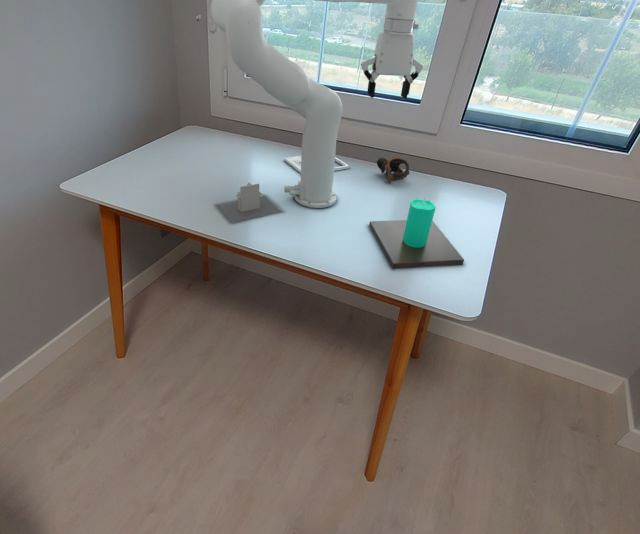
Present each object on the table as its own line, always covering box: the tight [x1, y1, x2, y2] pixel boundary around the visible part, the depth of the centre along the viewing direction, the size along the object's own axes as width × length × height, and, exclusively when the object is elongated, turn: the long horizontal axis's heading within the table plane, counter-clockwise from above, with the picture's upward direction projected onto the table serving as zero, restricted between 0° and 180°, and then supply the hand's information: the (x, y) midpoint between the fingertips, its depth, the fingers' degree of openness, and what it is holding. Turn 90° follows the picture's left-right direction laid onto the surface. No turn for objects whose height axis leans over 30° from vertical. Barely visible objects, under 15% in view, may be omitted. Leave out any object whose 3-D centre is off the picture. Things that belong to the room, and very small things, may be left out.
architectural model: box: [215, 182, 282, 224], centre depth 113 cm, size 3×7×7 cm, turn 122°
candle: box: [403, 197, 437, 248], centre depth 100 cm, size 6×6×12 cm
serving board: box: [368, 219, 465, 270], centre depth 104 cm, size 18×20×2 cm
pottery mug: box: [376, 156, 410, 184], centre depth 138 cm, size 12×10×8 cm
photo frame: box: [284, 155, 350, 174], centre depth 144 cm, size 15×1×18 cm
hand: (387, 97), depth 114 cm, fingers open, 9 cm apart
